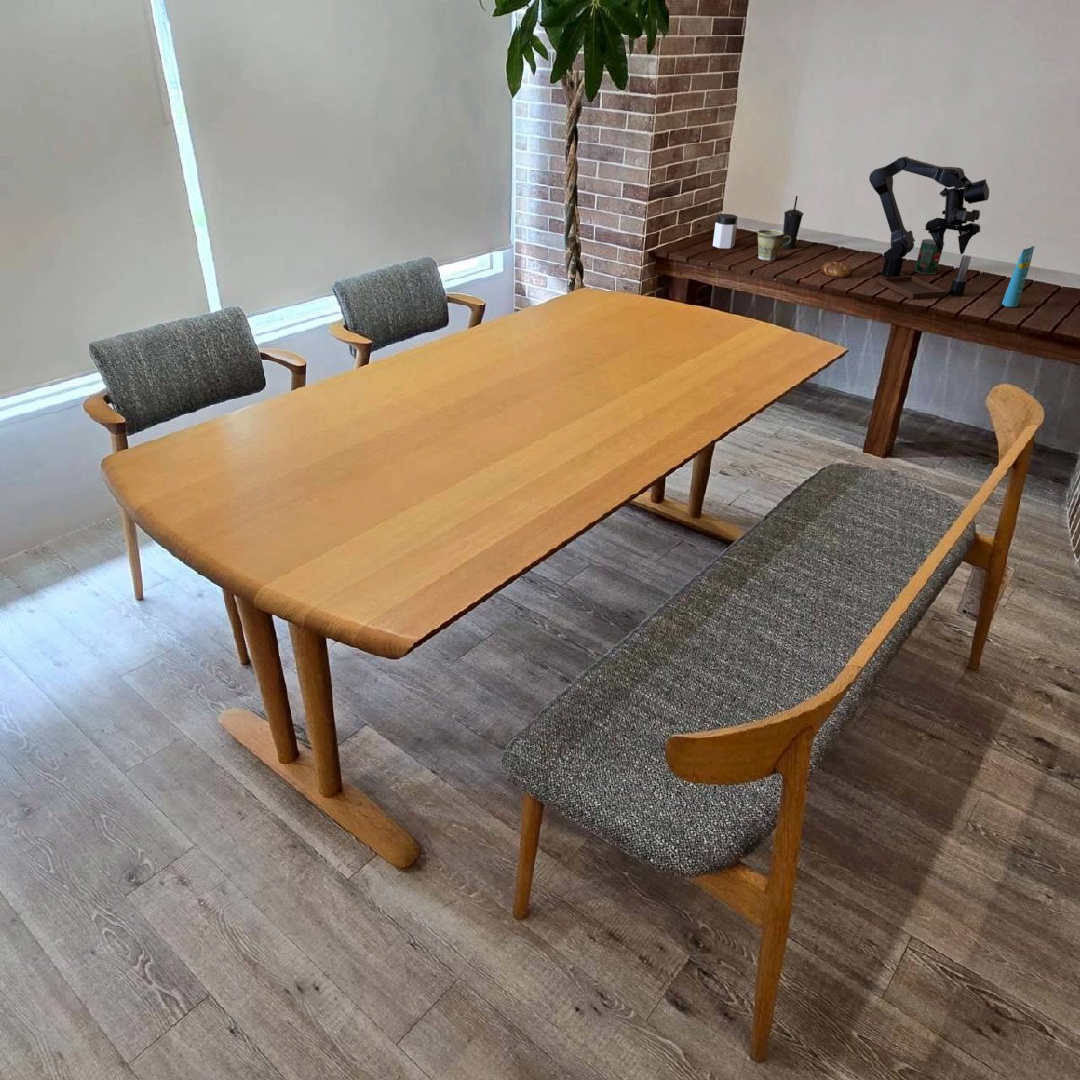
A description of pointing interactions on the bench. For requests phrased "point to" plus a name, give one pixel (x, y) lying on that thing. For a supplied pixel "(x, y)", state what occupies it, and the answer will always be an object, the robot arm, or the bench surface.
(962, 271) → the dark cylinder
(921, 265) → the canned tomato
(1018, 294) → the tube
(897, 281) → the tray
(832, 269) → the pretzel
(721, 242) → the jar
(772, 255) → the ceramic cup
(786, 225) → the drinking cup
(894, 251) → the robot arm
